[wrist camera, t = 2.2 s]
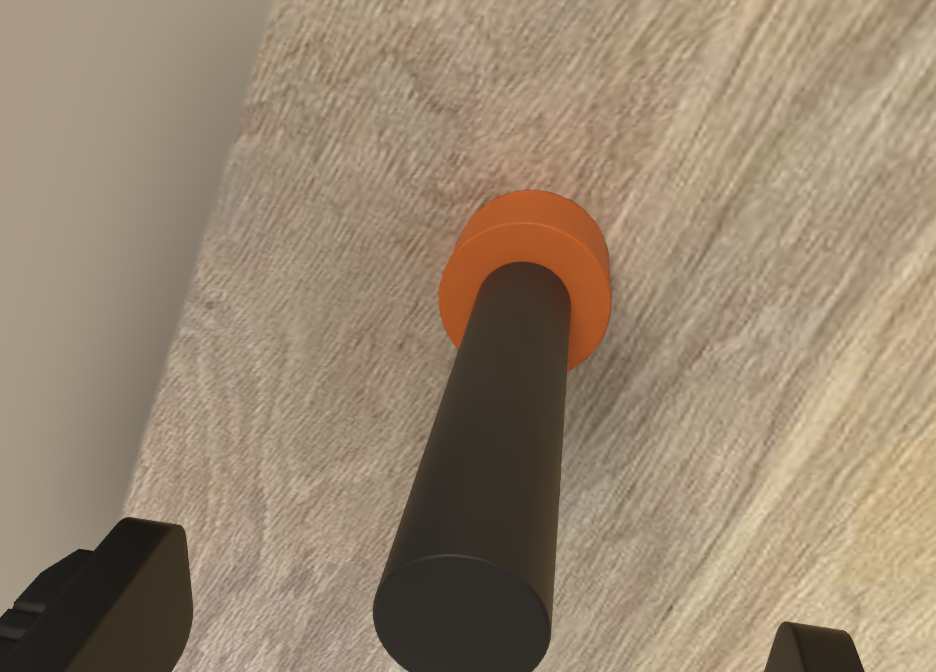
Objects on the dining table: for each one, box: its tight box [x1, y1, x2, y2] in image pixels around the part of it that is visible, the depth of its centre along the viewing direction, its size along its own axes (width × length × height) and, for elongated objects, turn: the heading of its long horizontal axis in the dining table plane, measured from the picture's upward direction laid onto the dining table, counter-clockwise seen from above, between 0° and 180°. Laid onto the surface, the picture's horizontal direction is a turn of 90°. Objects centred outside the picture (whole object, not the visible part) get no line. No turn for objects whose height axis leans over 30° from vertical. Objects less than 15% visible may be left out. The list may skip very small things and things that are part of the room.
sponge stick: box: [373, 190, 611, 672], centre depth 17 cm, size 4×4×14 cm
